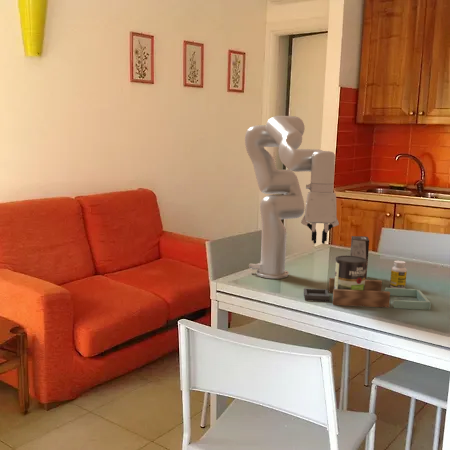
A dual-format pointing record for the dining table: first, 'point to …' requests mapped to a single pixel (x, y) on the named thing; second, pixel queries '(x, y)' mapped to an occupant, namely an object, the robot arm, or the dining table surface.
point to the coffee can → (350, 273)
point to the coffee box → (360, 248)
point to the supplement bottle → (398, 275)
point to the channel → (361, 295)
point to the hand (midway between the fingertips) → (318, 242)
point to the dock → (420, 304)
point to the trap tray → (316, 294)
